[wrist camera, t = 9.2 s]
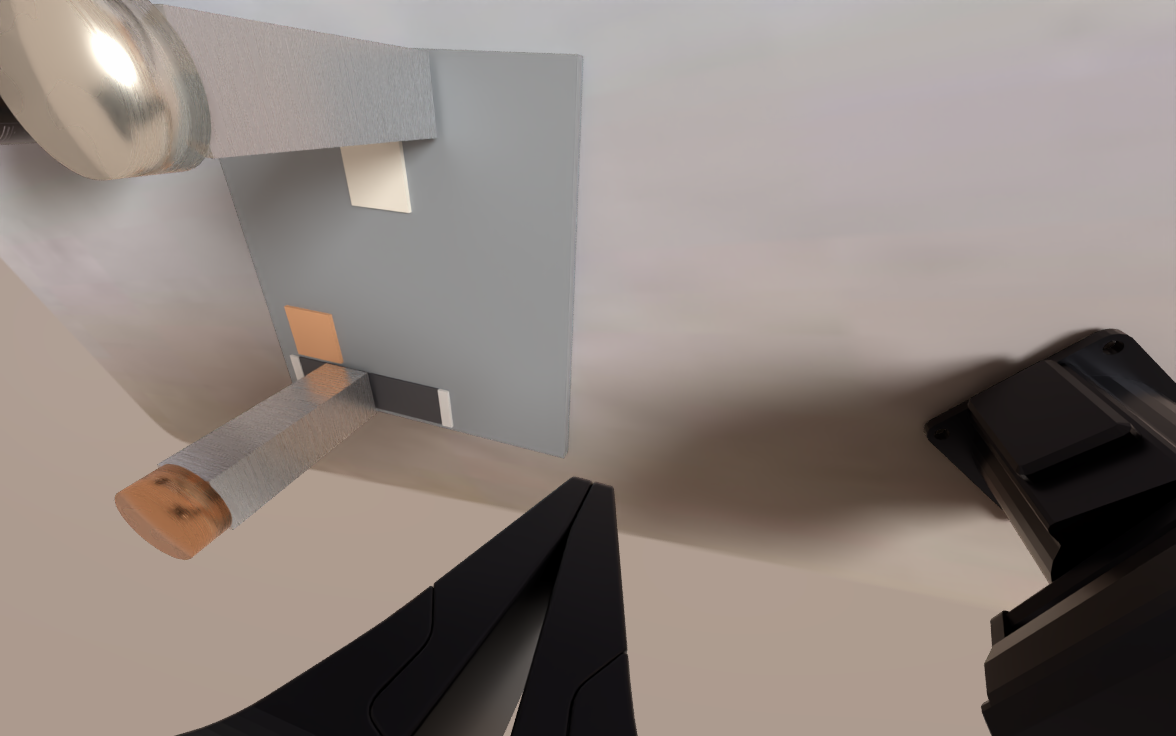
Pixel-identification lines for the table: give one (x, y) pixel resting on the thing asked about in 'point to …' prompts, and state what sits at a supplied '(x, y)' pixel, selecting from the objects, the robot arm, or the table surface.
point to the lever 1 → (197, 86)
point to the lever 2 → (245, 461)
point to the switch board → (436, 251)
